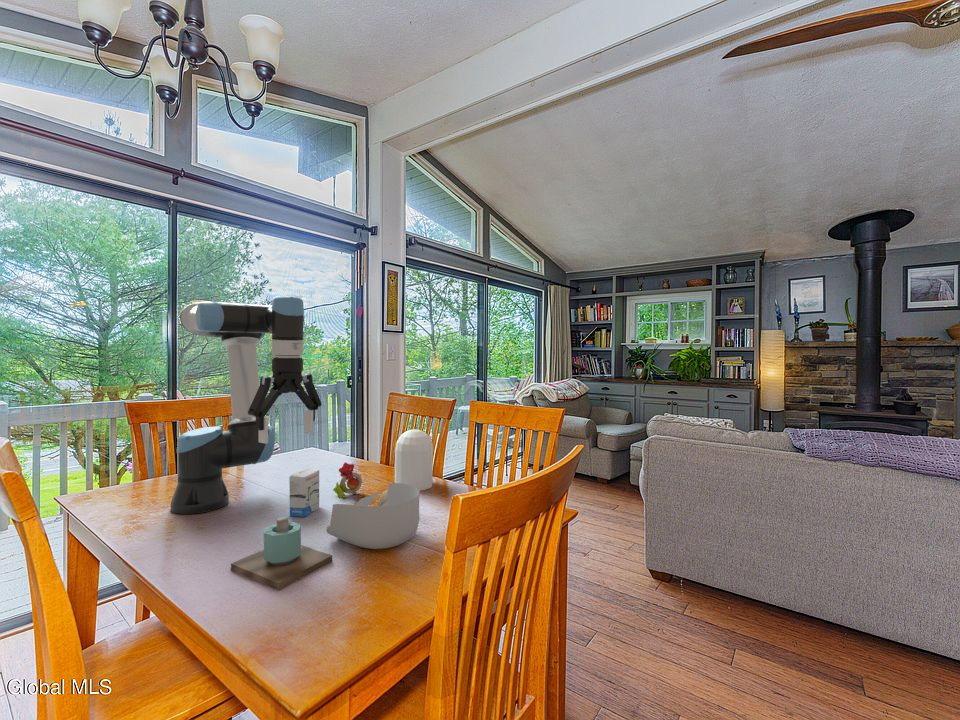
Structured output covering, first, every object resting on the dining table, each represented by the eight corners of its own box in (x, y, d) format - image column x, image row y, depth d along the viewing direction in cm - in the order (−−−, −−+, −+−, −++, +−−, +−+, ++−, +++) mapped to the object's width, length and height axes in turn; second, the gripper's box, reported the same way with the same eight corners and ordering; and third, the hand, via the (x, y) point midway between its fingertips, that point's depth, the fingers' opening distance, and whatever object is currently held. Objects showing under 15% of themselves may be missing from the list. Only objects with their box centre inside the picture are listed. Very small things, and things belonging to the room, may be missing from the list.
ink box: (304, 517, 129) (303, 477, 129) (288, 516, 130) (288, 475, 130) (320, 507, 138) (320, 469, 137) (305, 505, 139) (305, 468, 138)
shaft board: (230, 570, 99) (230, 523, 98) (286, 545, 111) (285, 503, 111) (278, 590, 91) (278, 539, 91) (332, 561, 103) (332, 516, 103)
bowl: (381, 564, 103) (381, 512, 102) (323, 544, 112) (323, 497, 112) (434, 533, 120) (434, 489, 119) (380, 518, 130) (380, 477, 129)
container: (440, 483, 163) (440, 428, 162) (416, 493, 151) (416, 434, 151) (411, 477, 170) (412, 424, 169) (386, 486, 158) (386, 430, 158)
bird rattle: (350, 497, 153) (325, 491, 148) (362, 465, 155) (339, 458, 150) (357, 502, 148) (333, 497, 143) (370, 470, 150) (346, 463, 145)
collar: (257, 557, 100) (257, 530, 99) (286, 545, 106) (286, 519, 106) (279, 565, 96) (279, 537, 96) (307, 552, 102) (307, 526, 102)
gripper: (251, 358, 104) (251, 449, 105) (335, 356, 126) (334, 431, 127) (232, 357, 108) (232, 444, 109) (316, 355, 130) (316, 428, 131)
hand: (287, 437), depth 118 cm, fingers open, 13 cm apart
